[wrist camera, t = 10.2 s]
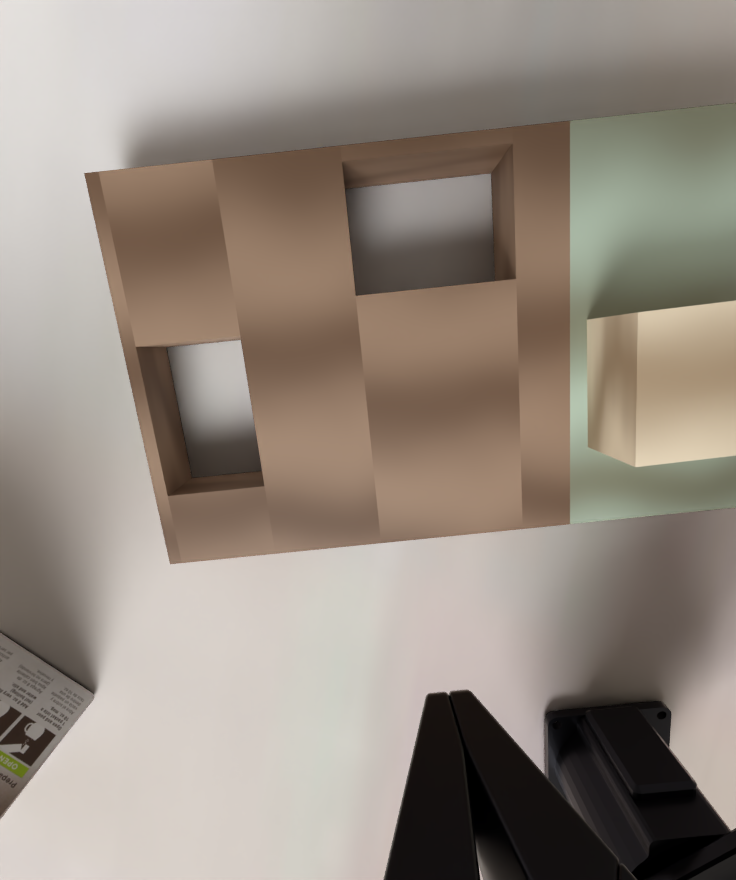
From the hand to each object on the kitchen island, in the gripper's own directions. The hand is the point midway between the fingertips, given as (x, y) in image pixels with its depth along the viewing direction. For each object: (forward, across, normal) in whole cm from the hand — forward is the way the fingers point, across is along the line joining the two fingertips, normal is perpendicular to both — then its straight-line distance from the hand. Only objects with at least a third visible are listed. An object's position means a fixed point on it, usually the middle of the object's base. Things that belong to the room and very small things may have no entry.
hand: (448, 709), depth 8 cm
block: (+10, -10, -5) cm, 15 cm away
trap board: (+12, -2, -6) cm, 14 cm away
